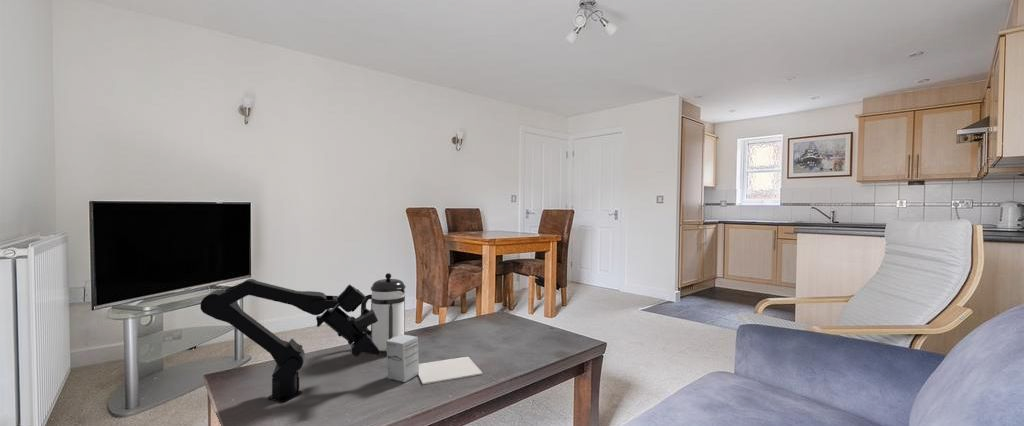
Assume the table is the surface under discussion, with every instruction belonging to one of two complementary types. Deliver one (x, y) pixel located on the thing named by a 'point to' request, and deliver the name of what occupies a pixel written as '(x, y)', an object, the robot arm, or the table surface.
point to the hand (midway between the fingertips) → (379, 353)
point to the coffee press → (386, 310)
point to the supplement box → (402, 357)
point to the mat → (447, 370)
